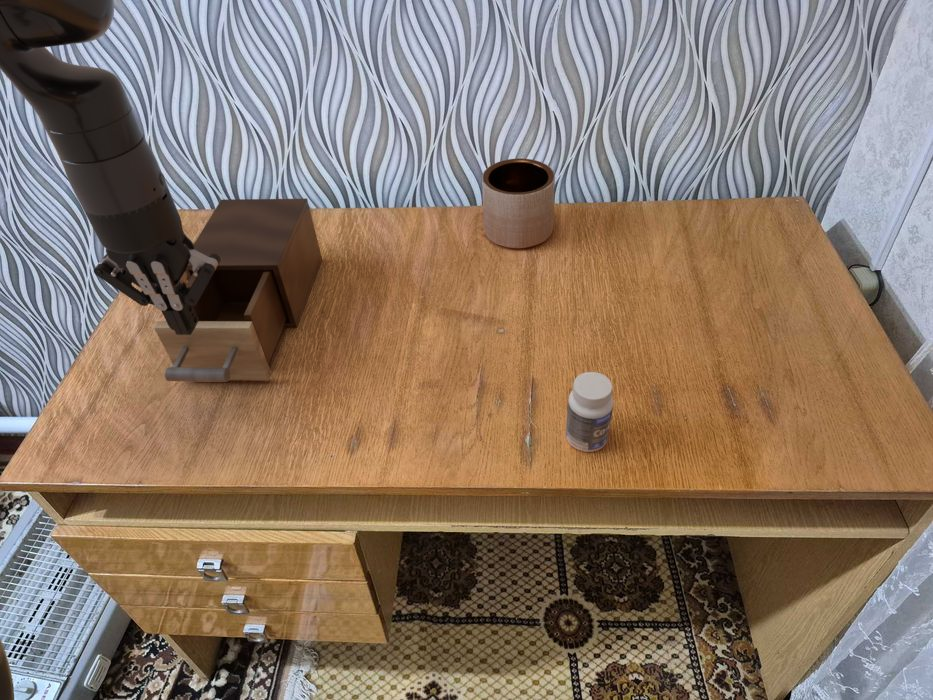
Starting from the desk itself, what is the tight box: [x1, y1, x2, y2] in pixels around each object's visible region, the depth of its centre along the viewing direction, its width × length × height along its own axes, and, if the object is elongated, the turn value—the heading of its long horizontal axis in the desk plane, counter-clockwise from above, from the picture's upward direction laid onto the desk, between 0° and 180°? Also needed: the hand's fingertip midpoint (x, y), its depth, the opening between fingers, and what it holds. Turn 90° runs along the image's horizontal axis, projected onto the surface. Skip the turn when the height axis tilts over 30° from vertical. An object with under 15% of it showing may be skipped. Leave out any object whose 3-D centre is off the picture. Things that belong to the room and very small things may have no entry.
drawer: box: [153, 270, 288, 383], centre depth 82 cm, size 20×11×9 cm, turn 176°
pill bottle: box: [565, 371, 615, 453], centre depth 71 cm, size 5×5×8 cm
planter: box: [481, 158, 556, 250], centre depth 100 cm, size 11×11×10 cm
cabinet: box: [186, 198, 323, 329], centre depth 92 cm, size 16×13×11 cm
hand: (187, 329), depth 73 cm, fingers closed
